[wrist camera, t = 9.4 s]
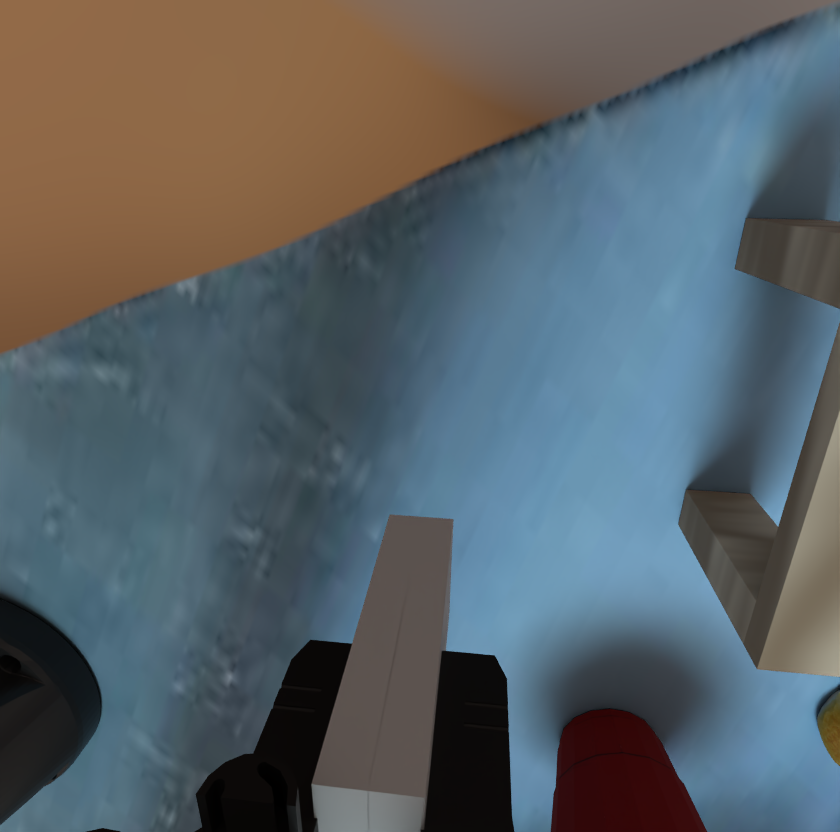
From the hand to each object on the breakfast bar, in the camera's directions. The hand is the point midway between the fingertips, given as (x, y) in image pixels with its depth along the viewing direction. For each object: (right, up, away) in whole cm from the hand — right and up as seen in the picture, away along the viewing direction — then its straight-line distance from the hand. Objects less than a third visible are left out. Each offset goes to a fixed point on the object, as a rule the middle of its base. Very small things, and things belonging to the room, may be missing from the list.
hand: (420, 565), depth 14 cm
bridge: (+14, +5, +12) cm, 19 cm away
